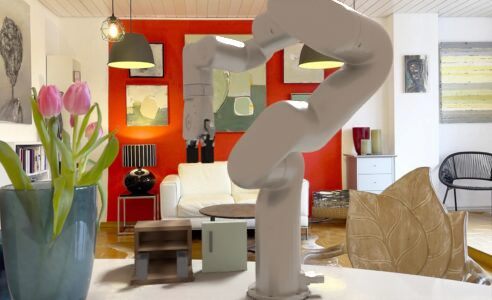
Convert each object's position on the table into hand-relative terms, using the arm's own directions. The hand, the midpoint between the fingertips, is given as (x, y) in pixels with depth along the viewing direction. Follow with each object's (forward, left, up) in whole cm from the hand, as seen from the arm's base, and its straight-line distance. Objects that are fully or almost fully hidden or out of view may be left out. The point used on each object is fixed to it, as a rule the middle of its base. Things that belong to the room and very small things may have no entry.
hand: (199, 163), depth 103 cm
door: (-6, 0, -27) cm, 27 cm away
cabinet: (+9, -2, -27) cm, 28 cm away
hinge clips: (+9, +4, -27) cm, 28 cm away
